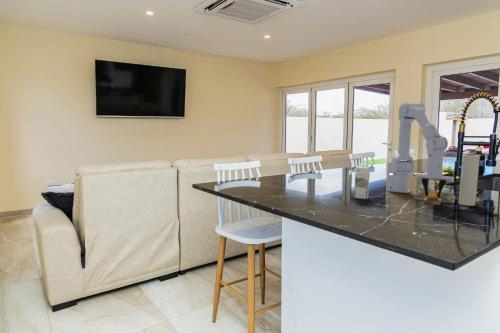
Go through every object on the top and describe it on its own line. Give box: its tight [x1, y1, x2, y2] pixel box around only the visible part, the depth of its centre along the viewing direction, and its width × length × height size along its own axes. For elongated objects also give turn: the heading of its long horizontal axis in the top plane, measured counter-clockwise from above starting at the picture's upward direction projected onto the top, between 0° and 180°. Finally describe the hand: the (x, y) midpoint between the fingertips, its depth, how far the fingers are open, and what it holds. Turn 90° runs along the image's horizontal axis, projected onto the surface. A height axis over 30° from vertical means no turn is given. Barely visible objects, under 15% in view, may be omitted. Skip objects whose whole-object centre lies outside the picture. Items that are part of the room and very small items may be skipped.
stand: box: [422, 197, 442, 206], centre depth 148 cm, size 6×6×2 cm
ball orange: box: [428, 189, 438, 199], centre depth 148 cm, size 4×4×4 cm
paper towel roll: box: [458, 153, 481, 207], centre depth 144 cm, size 7×6×21 cm
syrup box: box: [353, 165, 371, 200], centre depth 156 cm, size 6×6×14 cm
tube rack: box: [412, 186, 457, 204], centre depth 157 cm, size 16×13×4 cm
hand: (432, 196), depth 148 cm, fingers closed on ball orange, 4 cm apart
